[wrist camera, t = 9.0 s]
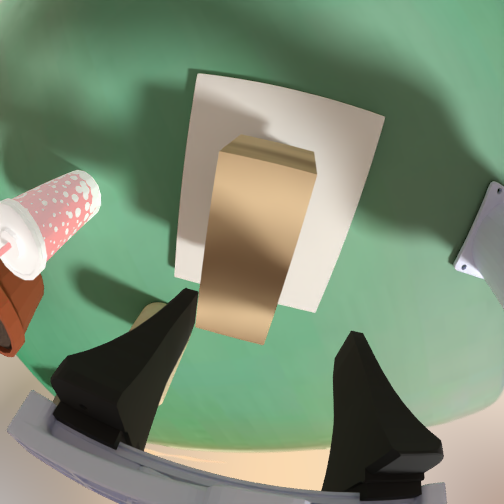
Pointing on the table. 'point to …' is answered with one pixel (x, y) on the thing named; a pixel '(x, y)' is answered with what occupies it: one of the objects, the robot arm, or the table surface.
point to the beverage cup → (45, 221)
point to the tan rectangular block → (252, 234)
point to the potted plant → (16, 308)
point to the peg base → (290, 133)
